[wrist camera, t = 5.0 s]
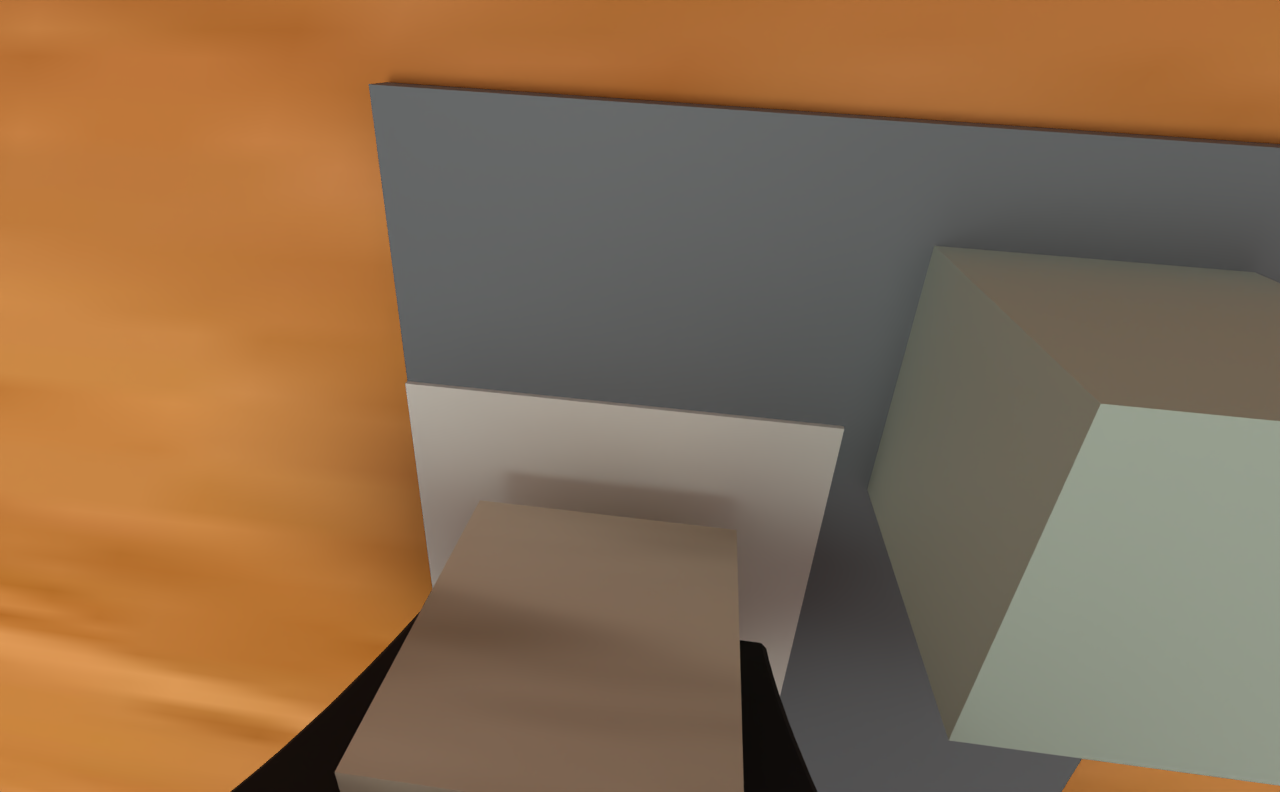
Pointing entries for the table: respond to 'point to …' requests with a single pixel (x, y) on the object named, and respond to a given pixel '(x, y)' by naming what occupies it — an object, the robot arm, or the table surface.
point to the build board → (747, 342)
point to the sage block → (1092, 508)
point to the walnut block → (564, 663)
